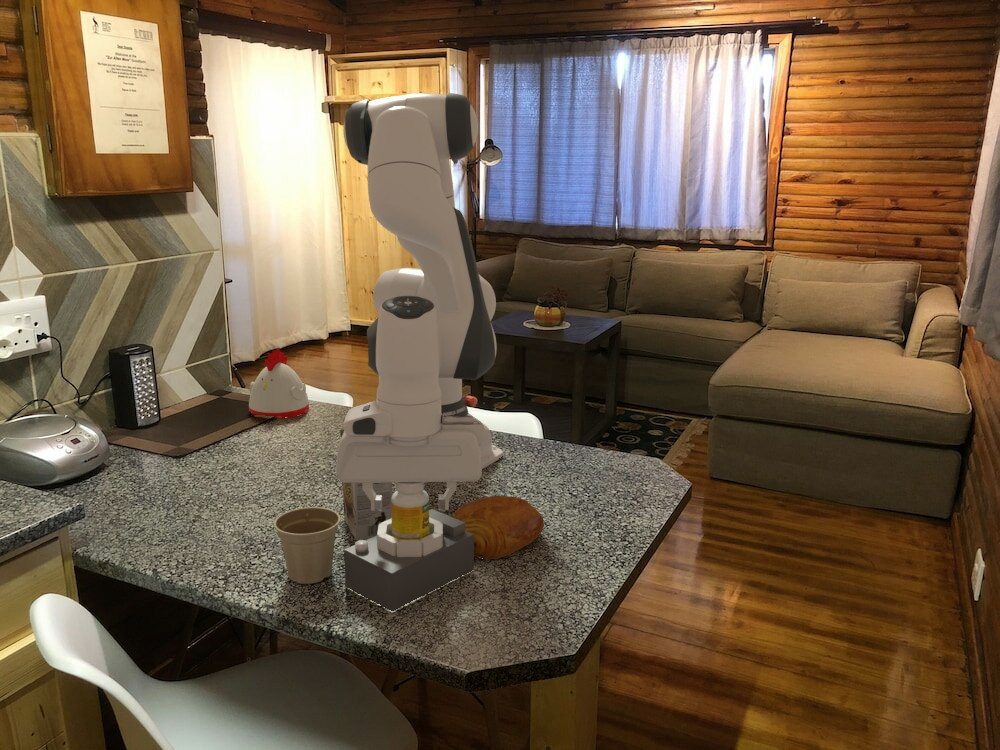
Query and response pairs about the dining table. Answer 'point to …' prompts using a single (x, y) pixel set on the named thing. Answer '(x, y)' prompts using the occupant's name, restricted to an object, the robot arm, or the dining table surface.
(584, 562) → the dining table surface
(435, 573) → the camera body
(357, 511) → the coffee box
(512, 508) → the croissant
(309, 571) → the flower pot
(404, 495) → the supplement bottle
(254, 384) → the kitchen timer
